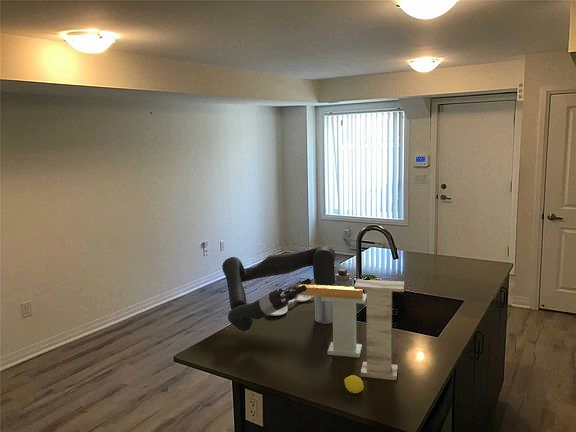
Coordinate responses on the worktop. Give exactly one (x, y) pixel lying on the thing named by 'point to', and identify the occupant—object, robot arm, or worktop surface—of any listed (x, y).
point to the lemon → (354, 384)
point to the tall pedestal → (379, 327)
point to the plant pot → (371, 277)
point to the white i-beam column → (344, 326)
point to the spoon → (299, 298)
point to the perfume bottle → (343, 278)
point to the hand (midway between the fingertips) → (308, 283)
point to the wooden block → (332, 291)
